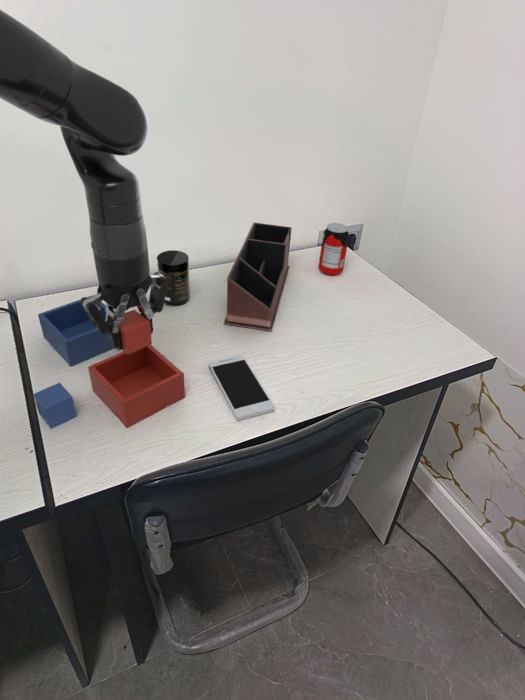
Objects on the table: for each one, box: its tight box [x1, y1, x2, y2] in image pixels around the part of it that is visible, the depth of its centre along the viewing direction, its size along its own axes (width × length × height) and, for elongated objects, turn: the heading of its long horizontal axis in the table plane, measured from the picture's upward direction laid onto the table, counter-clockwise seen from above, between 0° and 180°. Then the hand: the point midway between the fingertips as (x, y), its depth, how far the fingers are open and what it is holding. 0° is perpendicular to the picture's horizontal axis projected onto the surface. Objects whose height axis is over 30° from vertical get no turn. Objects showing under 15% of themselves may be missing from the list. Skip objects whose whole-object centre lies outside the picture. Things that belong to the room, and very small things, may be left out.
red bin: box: [87, 344, 186, 429], centre depth 86 cm, size 12×12×6 cm
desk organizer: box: [223, 222, 292, 332], centre depth 113 cm, size 10×29×11 cm, turn 170°
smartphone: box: [208, 354, 275, 421], centre depth 90 cm, size 7×16×1 cm, turn 23°
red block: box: [120, 309, 153, 355], centre depth 79 cm, size 4×4×4 cm
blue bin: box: [37, 294, 115, 367], centre depth 97 cm, size 12×12×6 cm
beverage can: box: [318, 222, 350, 277], centre depth 124 cm, size 6×6×12 cm
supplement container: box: [156, 250, 191, 307], centre depth 109 cm, size 7×7×10 cm
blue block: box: [32, 382, 78, 429], centre depth 81 cm, size 4×4×4 cm
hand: (132, 341), depth 80 cm, fingers closed on red block, 4 cm apart
